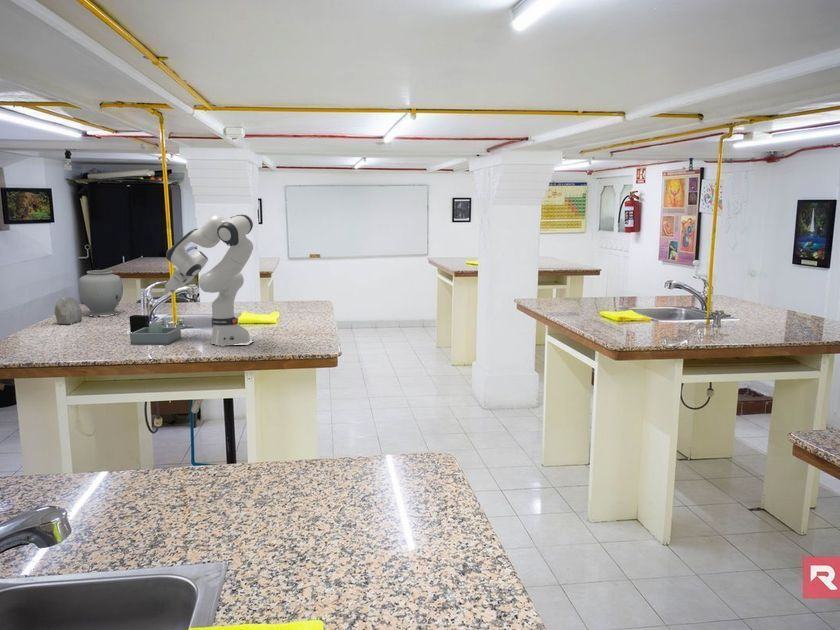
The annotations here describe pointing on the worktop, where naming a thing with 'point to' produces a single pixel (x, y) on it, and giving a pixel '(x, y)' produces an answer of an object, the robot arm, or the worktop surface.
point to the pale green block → (155, 327)
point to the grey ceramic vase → (100, 291)
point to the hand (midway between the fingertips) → (167, 292)
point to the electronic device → (138, 322)
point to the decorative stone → (67, 311)
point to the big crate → (155, 336)
